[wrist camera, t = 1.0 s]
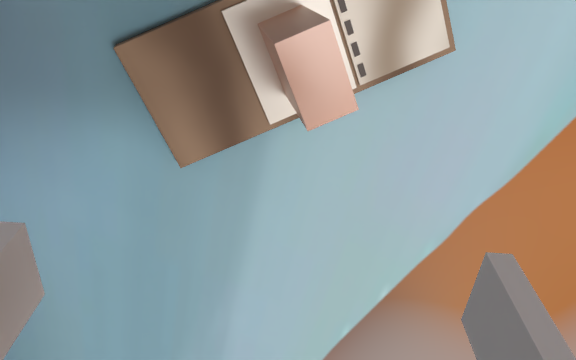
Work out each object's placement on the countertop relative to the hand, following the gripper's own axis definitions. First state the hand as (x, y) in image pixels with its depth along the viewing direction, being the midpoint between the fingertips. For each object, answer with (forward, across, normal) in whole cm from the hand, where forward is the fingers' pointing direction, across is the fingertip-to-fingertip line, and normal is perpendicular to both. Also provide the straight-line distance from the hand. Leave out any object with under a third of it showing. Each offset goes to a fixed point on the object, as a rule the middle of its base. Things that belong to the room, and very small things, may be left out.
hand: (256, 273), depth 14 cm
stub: (+20, -1, -1) cm, 20 cm away
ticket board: (+22, -1, -1) cm, 22 cm away
